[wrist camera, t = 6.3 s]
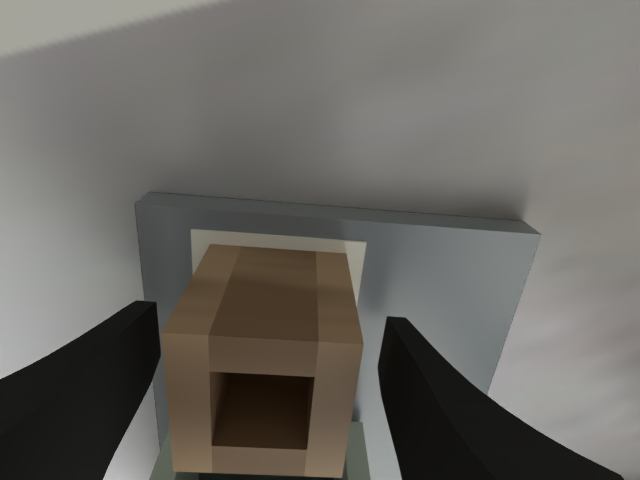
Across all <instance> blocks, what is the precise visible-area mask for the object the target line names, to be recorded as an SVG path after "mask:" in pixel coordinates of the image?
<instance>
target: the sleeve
mask: <svg viewBox="0 0 640 480" xmlns="http://www.w3.org/2000/svg"><path fill="white" fill-rule="evenodd" d="M161 337H162V348H163V360H164V371H165V382H166V394H167V405H168V416H169V428H170V439H171V450H172V462H173V471H174V472H200V473H227V474H253V475H280V476H306V477H333V478H342V474H343V468H344V462H345V456H346V449H347V443H348V437H349V431H350V425H351V419H352V413H353V407H354V401H355V395H356V389H357V383H358V377H359V371H360V365H361V359H362V352H363V346H364V343H363V337H362V332H361V327H360V322H359V317H358V311H357V306H356V301H355V296H354V290H353V285H352V280H351V275H350V270H349V264H348V259H347V254H346V253H333V252H318V251H304V250H290V249H276V248H261V247H247V246H233V245H219V244H210V245H209V247H208V249H207V250H206V252H205V254H204V256H203V258H202V260H201V261H200V263H199V265H198V267H197V269H196V270H195V272H194V274H193V276H192V278H191V280H190V281H189V283H188V285H187V287H186V289H185V290H184V292H183V294H182V296H181V298H180V299H179V301H178V303H177V305H176V307H175V309H174V310H173V312H172V314H171V316H170V318H169V319H168V321H167V323H166V325H165V327H164V328H163V330H162V332H161Z"/></svg>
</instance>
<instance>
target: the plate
mask: <svg viewBox="0 0 640 480" xmlns="http://www.w3.org/2000/svg"><path fill="white" fill-rule="evenodd" d="M135 213H136V222H137V232H138V242H139V251H140V261H141V271H142V280H143V290H144V300H145V301H151V302H156V303H157V314H158V325H159V337H160V348H161V357H160V360H159V362H158V365H157V368H156V371H155V374H154V376H153V387H154V396H155V406H156V416H157V425H158V435H159V445H160V450H161V448H162V445H163V443H164V440H165V437H166V435H167V432H168V430H169V416H168V405H167V394H166V382H165V371H164V360H163V348H162V337H161V332H162V330H163V328H164V327H165V325H166V323H167V321H168V319H169V318H170V316H171V314H172V312H173V310H174V309H175V307H176V305H177V303H178V301H179V299H180V298H181V296H182V294H183V292H184V290H185V289H186V287H187V285H188V283H189V281H190V280H191V278H192V276H193V274H194V272H195V270H196V269H197V267H198V265H199V263H200V261H201V260H202V258H203V256H204V254H205V252H206V250H207V249H208V247H209V245H210V244H219V245H233V246H247V247H261V248H276V249H290V250H304V251H318V252H333V253H346V254H347V259H348V264H349V270H350V275H351V280H352V285H353V290H354V296H355V301H356V306H357V311H358V317H359V322H360V327H361V332H362V337H363V343H364V346H363V352H362V359H361V365H360V371H359V377H358V383H357V389H356V395H355V401H354V407H353V413H352V419H351V422H363V429H364V436H365V443H366V450H367V457H368V463H369V470H370V477H371V480H402V478H401V473H400V469H399V464H398V460H397V456H396V452H395V449H394V445H393V441H392V437H391V433H390V429H389V426H388V422H387V418H386V414H385V410H384V406H383V402H382V398H381V392H380V385H379V377H378V368H377V366H378V361H379V355H380V350H381V345H382V339H383V334H384V329H385V324H386V318H387V316H392V317H406V318H407V319H408V320H409V321H410V322H411V323H412V324H413V325H414V327H415V328H416V329H417V330H418V331H419V332H420V333H421V334H422V335H423V336H424V337H425V339H426V340H427V341H428V342H429V343H430V344H431V345H432V346H433V347H434V348H435V349H436V350H437V351H438V352H439V353H440V354H441V355H442V356H443V357H444V358H445V359H446V360H447V361H448V362H449V363H450V364H451V365H452V366H453V367H454V368H455V369H456V370H457V371H459V372H460V373H461V374H462V375H463V376H464V377H465V378H466V379H467V380H468V381H470V382H471V383H472V384H473V385H474V386H476V387H477V388H478V389H479V390H480V391H482V392H483V393H484V394H486V395H487V393H488V390H489V387H490V384H491V381H492V378H493V375H494V372H495V370H496V367H497V364H498V361H499V358H500V355H501V352H502V349H503V346H504V343H505V340H506V337H507V334H508V332H509V329H510V326H511V323H512V320H513V317H514V314H515V311H516V308H517V305H518V302H519V299H520V296H521V294H522V291H523V288H524V285H525V282H526V279H527V276H528V273H529V270H530V267H531V264H532V261H533V258H534V256H535V253H536V250H537V247H538V244H539V241H540V238H541V234H540V233H539V232H537V231H536V230H535V229H533V228H532V227H531V226H529V225H528V224H527V223H525V222H524V221H514V220H501V219H488V218H475V217H462V216H449V215H436V214H424V213H411V212H398V211H385V210H372V209H359V208H346V207H334V206H321V205H308V204H295V203H282V202H269V201H256V200H244V199H231V198H218V197H205V196H192V195H179V194H166V193H153V192H149V193H147V194H146V195H145V196H144V197H142V198H141V199H140V200H139V201H137V202H136V203H135ZM198 473H199V480H334V478H333V477H306V476H280V475H253V474H227V473H200V472H198Z"/></svg>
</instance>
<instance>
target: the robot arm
mask: <svg viewBox="0 0 640 480" xmlns="http://www.w3.org/2000/svg"><path fill="white" fill-rule="evenodd" d="M160 357H161V348H160V337H159V325H158V314H157V303H156V302H151V301H135V302H133V303H131V304H130V305H128V306H126V307H125V308H123V309H122V310H120V311H119V312H117V313H116V314H114V315H113V316H111V317H110V318H108V319H106V320H105V321H103V322H102V323H100V324H99V325H97V326H96V327H94V328H93V329H91V330H89V331H88V332H86V333H85V334H83V335H82V336H80V337H78V338H77V339H75V340H73V341H71V342H70V343H68V344H66V345H65V346H63V347H61V348H60V349H58V350H56V351H54V352H53V353H51V354H49V355H48V356H46V357H44V358H42V359H40V360H38V361H36V362H35V363H33V364H31V365H29V366H27V367H25V368H23V369H21V370H19V371H17V372H15V373H13V374H11V375H9V376H6V377H4V378H2V379H0V480H103V478H104V475H105V473H106V470H107V468H108V466H109V464H110V462H111V460H112V458H113V455H114V453H115V451H116V449H117V448H118V446H119V444H120V442H121V440H122V438H123V436H124V434H125V432H126V430H127V429H128V427H129V425H130V423H131V421H132V419H133V417H134V415H135V413H136V412H137V410H138V408H139V406H140V404H141V402H142V400H143V398H144V396H145V394H146V392H147V390H148V388H149V386H150V384H151V382H152V379H153V376H154V374H155V371H156V368H157V365H158V362H159V360H160ZM377 368H378V377H379V385H380V392H381V398H382V402H383V406H384V410H385V414H386V418H387V422H388V426H389V429H390V433H391V437H392V441H393V445H394V449H395V452H396V456H397V460H398V464H399V469H400V473H401V478H402V480H624V479H623V477H622V476H621V475H619V474H617V473H615V472H613V471H611V470H609V469H607V468H605V467H603V466H601V465H599V464H597V463H595V462H593V461H591V460H589V459H587V458H585V457H583V456H581V455H579V454H577V453H575V452H573V451H572V450H570V449H568V448H566V447H564V446H563V445H561V444H559V443H557V442H556V441H554V440H552V439H550V438H549V437H547V436H545V435H544V434H542V433H540V432H539V431H537V430H536V429H534V428H532V427H531V426H529V425H528V424H526V423H525V422H523V421H522V420H520V419H519V418H517V417H516V416H514V415H513V414H511V413H510V412H508V411H507V410H505V409H504V408H503V407H501V406H500V405H498V404H497V403H496V402H495V401H493V400H492V399H491V398H489V397H488V396H487V395H486V394H484V393H483V392H482V391H480V390H479V389H478V388H477V387H476V386H474V385H473V384H472V383H471V382H470V381H468V380H467V379H466V378H465V377H464V376H463V375H462V374H461V373H460V372H459V371H457V370H456V369H455V368H454V367H453V366H452V365H451V364H450V363H449V362H448V361H447V360H446V359H445V358H444V357H443V356H442V355H441V354H440V353H439V352H438V351H437V350H436V349H435V348H434V347H433V346H432V345H431V344H430V343H429V342H428V341H427V340H426V339H425V337H424V336H423V335H422V334H421V333H420V332H419V331H418V330H417V329H416V328H415V327H414V325H413V324H412V323H411V322H410V321H409V320H408V319H407V318H406V317H392V316H387V318H386V324H385V329H384V334H383V339H382V345H381V350H380V355H379V361H378V366H377Z"/></svg>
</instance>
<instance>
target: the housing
mask: <svg viewBox="0 0 640 480" xmlns="http://www.w3.org/2000/svg"><path fill="white" fill-rule="evenodd" d="M149 480H199V473H198V472H174V471H173V462H172V450H171V439H170V428H169V430H168V432H167V435H166V437H165V440H164V443H163V445H162V448H161V450H160V453H159V456H158V458H157V461H156V463H155V466H154V469H153V471H152V474H151V476H150V479H149ZM334 480H371V477H370V470H369V463H368V457H367V450H366V443H365V436H364V429H363V422H351V425H350V431H349V437H348V443H347V449H346V456H345V462H344V468H343V474H342V478H334Z"/></svg>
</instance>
